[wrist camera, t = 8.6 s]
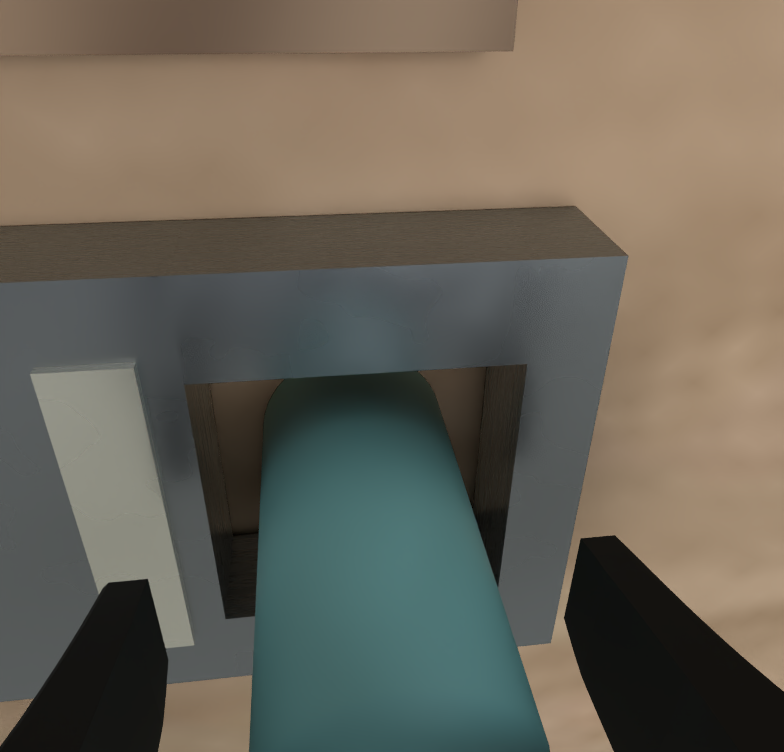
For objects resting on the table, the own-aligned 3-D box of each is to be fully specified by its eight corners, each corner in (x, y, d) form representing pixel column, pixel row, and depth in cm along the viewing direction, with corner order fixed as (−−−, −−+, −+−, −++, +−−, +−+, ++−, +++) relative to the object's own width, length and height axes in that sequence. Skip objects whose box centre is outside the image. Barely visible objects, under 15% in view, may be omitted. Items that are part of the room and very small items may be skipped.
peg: (271, 500, 17) (262, 877, 10) (254, 356, 15) (229, 714, 8) (435, 486, 17) (532, 840, 11) (443, 345, 15) (570, 675, 8)
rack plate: (-153, 628, 17) (-220, 733, 15) (-393, 239, 12) (-552, 312, 10) (521, 564, 19) (553, 650, 17) (575, 206, 14) (633, 260, 12)
